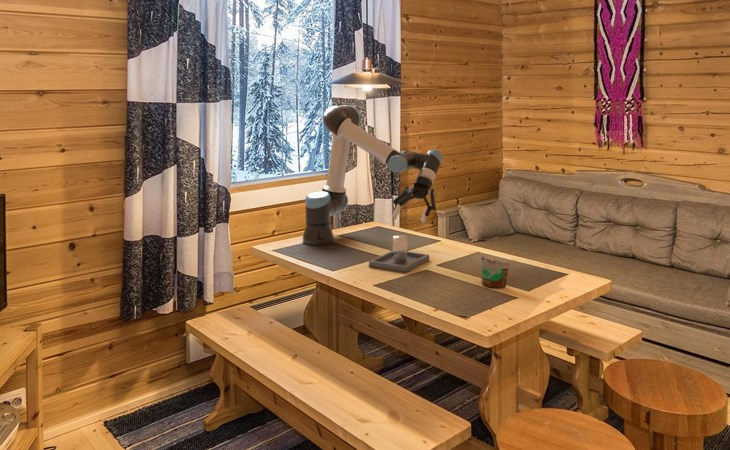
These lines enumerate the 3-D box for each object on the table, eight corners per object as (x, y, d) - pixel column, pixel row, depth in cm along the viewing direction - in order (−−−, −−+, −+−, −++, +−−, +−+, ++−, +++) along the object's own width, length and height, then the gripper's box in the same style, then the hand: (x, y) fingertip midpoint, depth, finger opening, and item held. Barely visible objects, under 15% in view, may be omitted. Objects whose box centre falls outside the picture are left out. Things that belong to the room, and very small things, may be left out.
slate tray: (368, 266, 261) (368, 261, 261) (394, 254, 280) (394, 249, 279) (405, 273, 253) (405, 267, 252) (429, 260, 271) (429, 254, 270)
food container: (471, 284, 239) (472, 259, 236) (481, 281, 243) (482, 255, 241) (499, 292, 230) (500, 265, 228) (508, 288, 234) (510, 262, 232)
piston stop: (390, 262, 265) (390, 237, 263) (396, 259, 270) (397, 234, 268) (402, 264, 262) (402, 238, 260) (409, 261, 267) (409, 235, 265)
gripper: (452, 188, 276) (436, 228, 267) (402, 183, 289) (385, 221, 280) (448, 177, 270) (431, 218, 261) (397, 173, 283) (379, 211, 274)
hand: (407, 219), depth 270 cm, fingers open, 13 cm apart
